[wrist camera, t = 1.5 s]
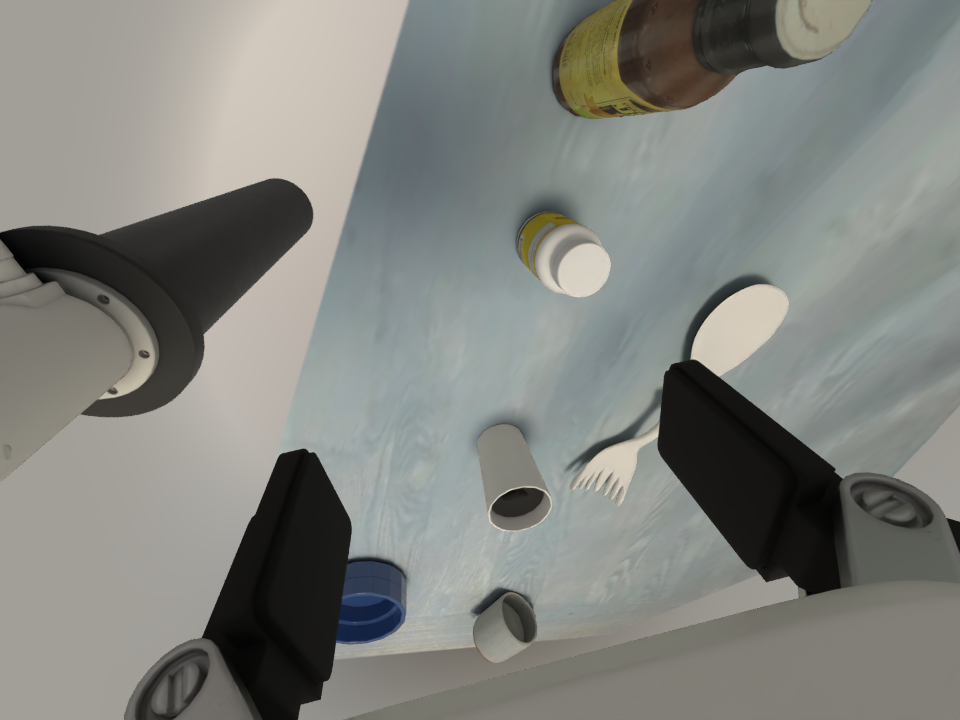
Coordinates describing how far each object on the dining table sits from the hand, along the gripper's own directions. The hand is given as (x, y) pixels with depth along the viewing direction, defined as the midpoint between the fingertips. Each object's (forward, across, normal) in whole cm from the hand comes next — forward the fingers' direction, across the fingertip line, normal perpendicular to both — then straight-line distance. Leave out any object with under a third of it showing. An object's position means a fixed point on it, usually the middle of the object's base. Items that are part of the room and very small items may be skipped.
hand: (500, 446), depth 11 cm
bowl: (+28, +21, +47) cm, 59 cm away
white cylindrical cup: (+28, -2, +26) cm, 38 cm away
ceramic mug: (+28, +2, +62) cm, 68 cm away
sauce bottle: (+28, -14, -9) cm, 33 cm away
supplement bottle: (+28, -10, +3) cm, 30 cm away
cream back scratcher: (+28, -23, +25) cm, 44 cm away
